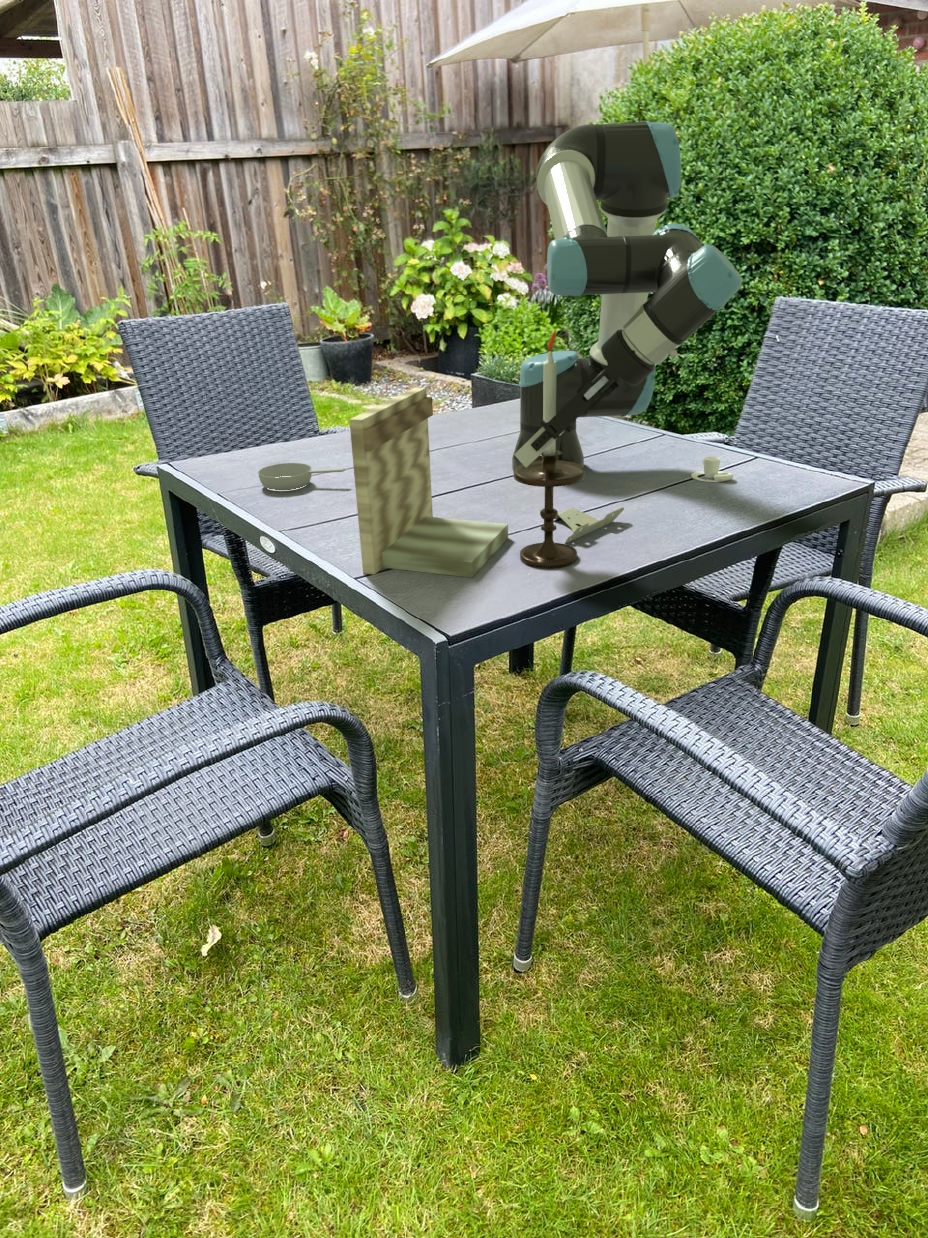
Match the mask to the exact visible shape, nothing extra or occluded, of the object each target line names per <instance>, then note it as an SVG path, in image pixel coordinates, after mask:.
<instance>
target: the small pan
mask: <svg viewBox="0 0 928 1238" xmlns="http://www.w3.org/2000/svg"><path fill="white" fill-rule="evenodd" d="M345 470H346V469H345V468H344V467H341V468H339V467H338V468H325V469H324V468H323V469H312V466H311V465H309V464H307V463H301V462H284V463H277V464H271V465H267V466H265V467H264V466H263V467H262V468H260V469H259V470H258V472H257V473H258V478H259V481H260V483H261V484H262V486H263V487H264V488H265V487H266V488H269V489H275V490H291V489H296V488H300V487H303V486H305V485H307V484H308V485H309V483H310V481H311V478H312V474H326V473H327V474H328V473H344V472H345ZM280 476H281V477H280ZM282 476H291V477H282ZM275 477H279V478H275ZM308 485H307V486H308ZM266 488H265V489H266Z"/></svg>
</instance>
